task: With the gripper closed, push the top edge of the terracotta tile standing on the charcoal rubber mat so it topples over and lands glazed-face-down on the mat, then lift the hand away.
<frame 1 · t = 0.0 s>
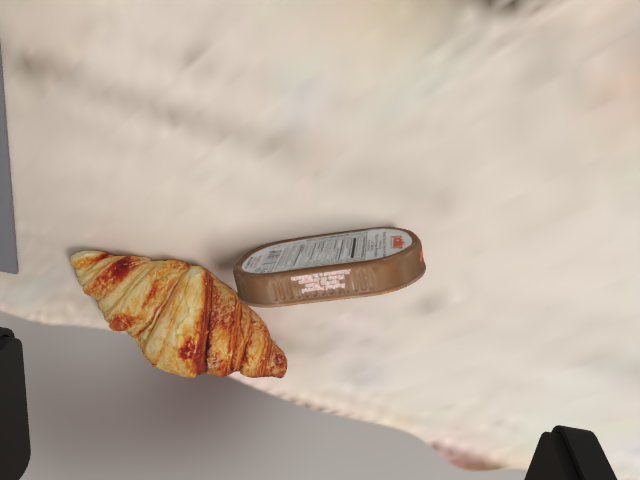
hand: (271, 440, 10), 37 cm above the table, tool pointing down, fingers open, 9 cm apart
tin: (331, 242, 49), on the table
croissant: (189, 299, 53), on the table
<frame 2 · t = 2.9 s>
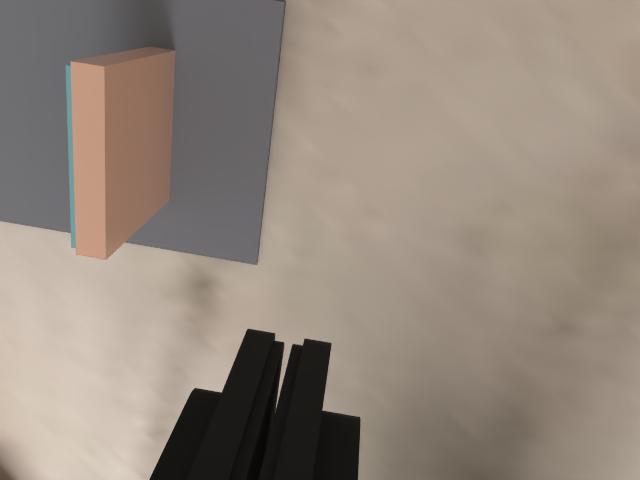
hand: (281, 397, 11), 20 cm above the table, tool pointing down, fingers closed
tile: (157, 126, 30), resting on mat
mat: (68, 110, 31), on the table
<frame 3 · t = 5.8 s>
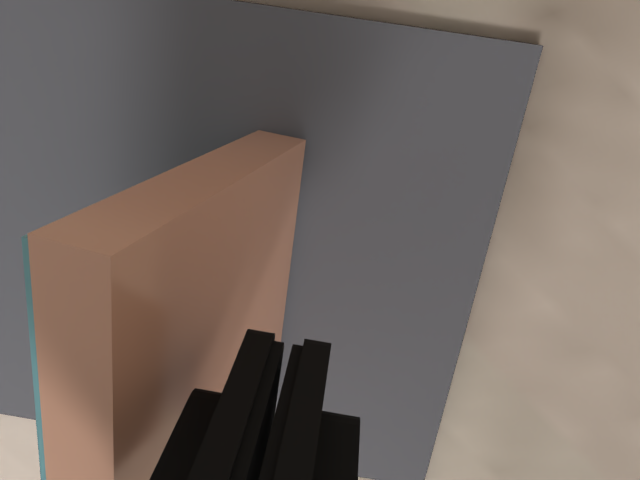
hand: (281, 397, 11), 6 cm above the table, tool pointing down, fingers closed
tile: (262, 271, 16), resting on mat, tilted 12°
mat: (98, 238, 17), on the table
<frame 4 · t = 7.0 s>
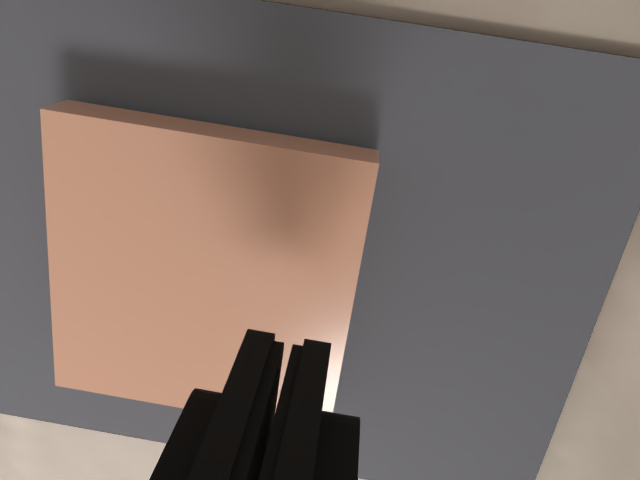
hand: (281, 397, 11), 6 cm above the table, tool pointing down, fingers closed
tile: (352, 298, 15), point 1 cm above the table, tilted 90°, touching mat
mat: (209, 255, 17), on the table
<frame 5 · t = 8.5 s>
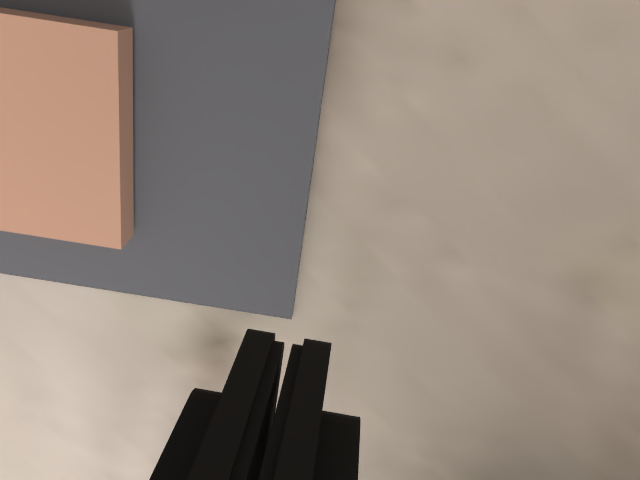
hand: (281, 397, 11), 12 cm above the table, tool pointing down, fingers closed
tile: (128, 143, 21), point 1 cm above the table, tilted 90°, touching mat
mat: (30, 118, 22), on the table
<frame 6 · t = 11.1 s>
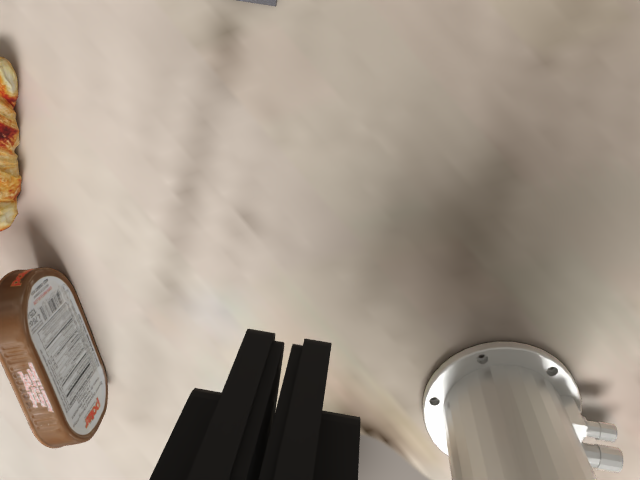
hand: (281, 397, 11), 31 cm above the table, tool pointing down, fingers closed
tin: (81, 328, 50), on the table
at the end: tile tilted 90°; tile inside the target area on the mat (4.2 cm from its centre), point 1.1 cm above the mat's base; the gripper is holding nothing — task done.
